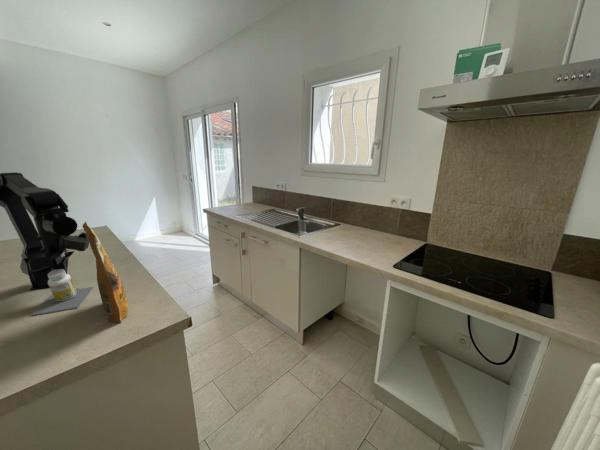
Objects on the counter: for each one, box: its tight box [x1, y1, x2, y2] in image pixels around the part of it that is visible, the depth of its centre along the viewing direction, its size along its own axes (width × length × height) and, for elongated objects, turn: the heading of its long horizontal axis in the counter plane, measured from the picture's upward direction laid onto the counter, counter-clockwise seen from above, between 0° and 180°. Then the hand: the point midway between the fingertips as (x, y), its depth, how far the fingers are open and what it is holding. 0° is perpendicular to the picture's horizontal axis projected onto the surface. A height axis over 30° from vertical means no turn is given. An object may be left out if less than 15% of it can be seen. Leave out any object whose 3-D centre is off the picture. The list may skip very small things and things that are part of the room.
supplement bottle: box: [48, 269, 77, 301], centre depth 79 cm, size 5×5×10 cm
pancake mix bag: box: [82, 221, 129, 323], centre depth 72 cm, size 7×19×28 cm, turn 38°
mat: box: [30, 286, 94, 317], centre depth 80 cm, size 11×13×1 cm
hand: (64, 275), depth 81 cm, fingers closed
